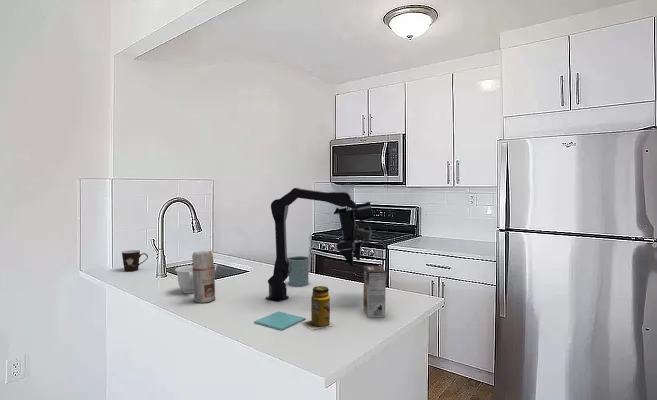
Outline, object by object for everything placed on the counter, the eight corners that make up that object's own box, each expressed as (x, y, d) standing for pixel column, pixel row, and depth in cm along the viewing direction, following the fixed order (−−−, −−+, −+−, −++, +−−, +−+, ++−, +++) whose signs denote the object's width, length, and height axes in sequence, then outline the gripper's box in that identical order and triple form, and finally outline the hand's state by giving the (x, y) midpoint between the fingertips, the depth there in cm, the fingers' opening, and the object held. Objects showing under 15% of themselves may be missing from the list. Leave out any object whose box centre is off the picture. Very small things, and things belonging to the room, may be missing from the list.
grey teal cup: (308, 287, 175) (308, 260, 174) (285, 287, 175) (285, 260, 175) (310, 281, 185) (310, 255, 185) (288, 281, 185) (288, 255, 185)
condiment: (335, 325, 129) (335, 288, 128) (312, 330, 124) (312, 292, 124) (322, 318, 135) (322, 283, 134) (301, 323, 130) (301, 287, 130)
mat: (254, 323, 131) (254, 321, 131) (278, 313, 141) (278, 311, 141) (281, 330, 124) (281, 328, 124) (305, 319, 134) (305, 317, 134)
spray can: (194, 304, 150) (194, 252, 149) (191, 299, 157) (190, 249, 156) (217, 301, 154) (217, 250, 153) (213, 296, 161) (212, 247, 160)
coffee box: (362, 309, 145) (362, 265, 144) (380, 308, 145) (380, 265, 145) (367, 317, 136) (367, 271, 135) (385, 317, 136) (386, 270, 136)
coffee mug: (118, 272, 204) (117, 252, 204) (129, 268, 212) (128, 249, 212) (138, 272, 202) (138, 253, 202) (149, 269, 211) (148, 250, 210)
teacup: (175, 298, 158) (174, 273, 157) (175, 289, 171) (174, 266, 171) (207, 295, 162) (206, 271, 162) (204, 286, 176) (203, 264, 175)
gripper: (361, 224, 142) (369, 266, 143) (373, 217, 160) (380, 255, 160) (332, 228, 146) (340, 269, 147) (347, 221, 164) (354, 258, 164)
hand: (355, 262), depth 154 cm, fingers open, 9 cm apart
